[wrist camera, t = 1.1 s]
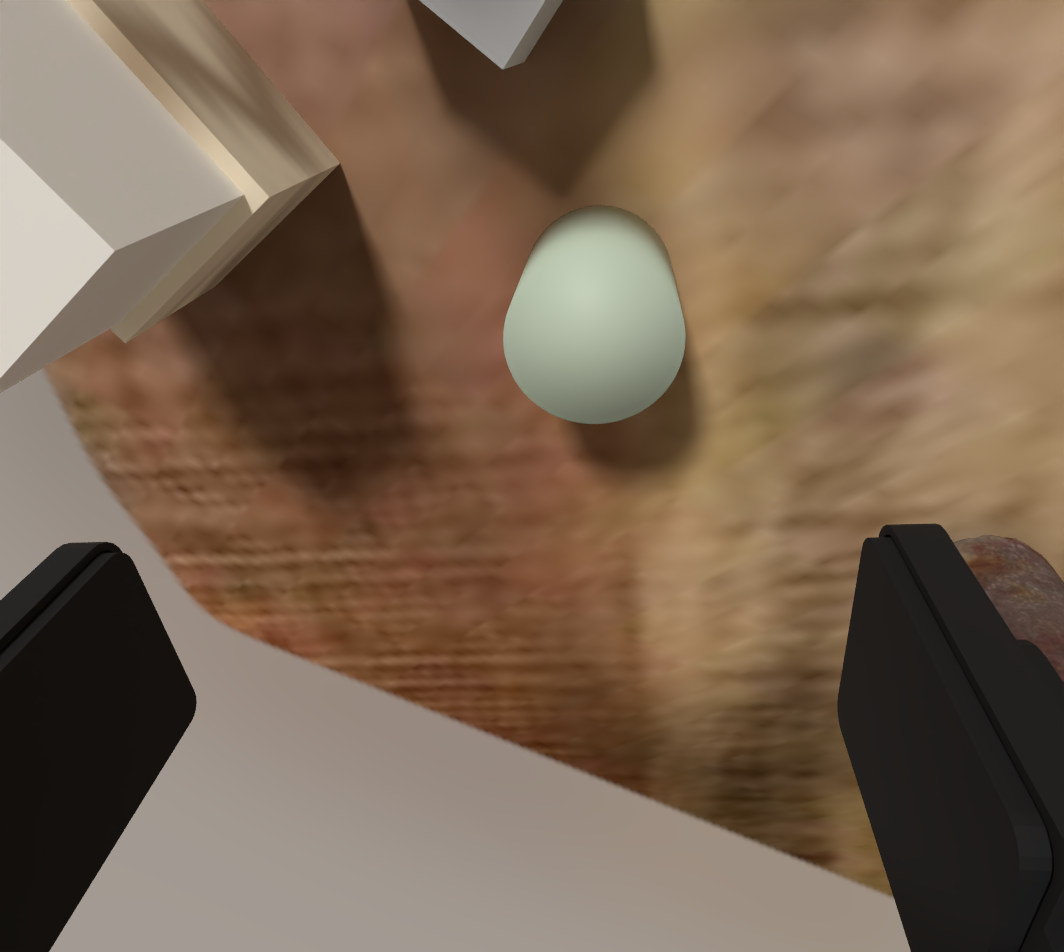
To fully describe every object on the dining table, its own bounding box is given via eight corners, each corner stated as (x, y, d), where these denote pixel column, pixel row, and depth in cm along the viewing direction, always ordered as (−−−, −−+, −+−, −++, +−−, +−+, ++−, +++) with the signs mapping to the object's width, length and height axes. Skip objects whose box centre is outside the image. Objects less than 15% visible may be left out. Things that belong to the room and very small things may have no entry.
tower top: (244, 194, 20) (114, 250, 15) (121, 322, 22) (-28, 408, 17) (56, -12, 18) (-171, -30, 13) (-58, 152, 20) (-288, 194, 15)
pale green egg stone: (700, 296, 26) (721, 360, 21) (583, 376, 28) (575, 453, 23) (615, 172, 24) (614, 210, 19) (496, 267, 26) (466, 325, 21)
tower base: (340, 163, 25) (269, 197, 20) (216, 285, 28) (125, 343, 23) (177, -31, 22) (48, -49, 17) (58, 125, 25) (-84, 149, 20)
